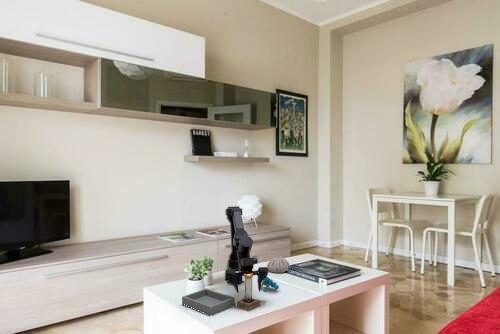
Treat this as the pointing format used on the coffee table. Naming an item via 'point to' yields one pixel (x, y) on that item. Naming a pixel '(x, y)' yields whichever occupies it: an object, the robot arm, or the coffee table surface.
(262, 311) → the coffee table surface
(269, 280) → the blue irregular piece
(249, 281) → the grey tall cylinder
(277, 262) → the sea urchin shell
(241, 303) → the socket block
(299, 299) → the coffee table surface
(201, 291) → the tray
